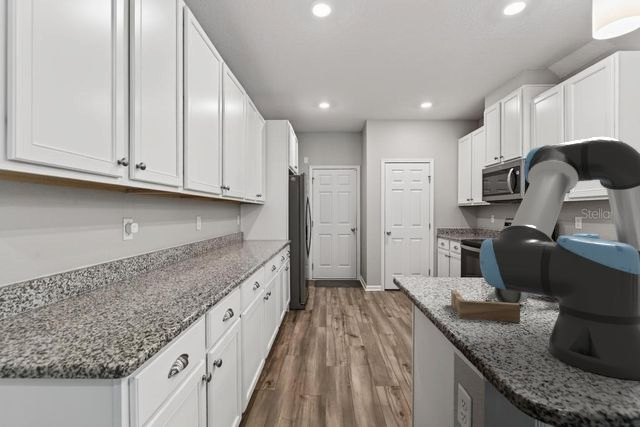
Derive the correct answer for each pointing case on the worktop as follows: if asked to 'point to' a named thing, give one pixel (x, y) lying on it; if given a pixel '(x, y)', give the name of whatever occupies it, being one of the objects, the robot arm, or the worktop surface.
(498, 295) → the ceramic mug
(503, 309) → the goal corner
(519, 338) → the worktop surface
